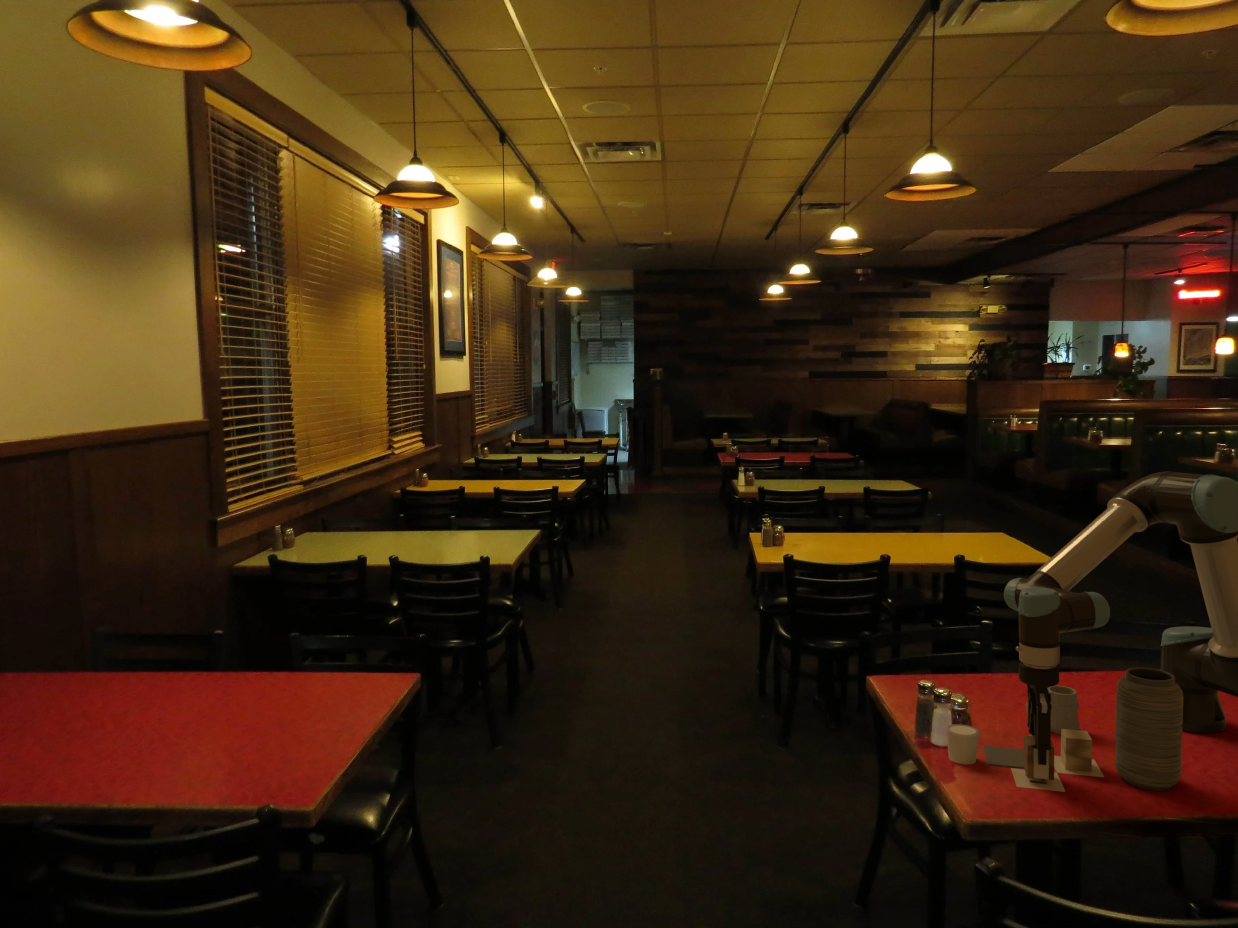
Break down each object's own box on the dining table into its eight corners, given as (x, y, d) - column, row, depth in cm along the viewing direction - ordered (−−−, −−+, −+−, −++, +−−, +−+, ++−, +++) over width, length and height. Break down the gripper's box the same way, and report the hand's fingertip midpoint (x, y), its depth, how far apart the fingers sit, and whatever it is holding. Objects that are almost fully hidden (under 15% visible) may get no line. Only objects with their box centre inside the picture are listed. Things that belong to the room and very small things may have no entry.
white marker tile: (1056, 773, 181) (1056, 772, 181) (1065, 792, 173) (1065, 791, 173) (1010, 769, 184) (1010, 767, 184) (1016, 787, 175) (1016, 786, 175)
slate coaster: (1030, 752, 192) (1030, 749, 192) (1038, 770, 183) (1038, 768, 183) (982, 747, 195) (982, 745, 195) (987, 766, 186) (987, 763, 186)
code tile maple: (1094, 760, 187) (1094, 759, 187) (1104, 778, 179) (1104, 776, 179) (1049, 756, 190) (1049, 754, 190) (1056, 773, 181) (1056, 772, 181)
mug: (1084, 737, 200) (1085, 687, 199) (1030, 734, 202) (1031, 685, 201) (1073, 724, 207) (1074, 676, 206) (1021, 722, 209) (1022, 674, 208)
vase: (1191, 796, 170) (1195, 684, 168) (1128, 793, 172) (1130, 682, 170) (1165, 771, 181) (1168, 665, 179) (1105, 768, 183) (1108, 664, 181)
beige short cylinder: (976, 769, 184) (976, 737, 184) (942, 762, 188) (943, 731, 187) (981, 757, 190) (981, 727, 190) (949, 751, 194) (949, 721, 193)
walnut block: (1049, 769, 180) (1049, 737, 179) (1054, 780, 175) (1054, 747, 175) (1023, 767, 182) (1023, 735, 181) (1027, 777, 177) (1027, 745, 176)
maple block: (1086, 761, 186) (1086, 730, 185) (1091, 771, 181) (1092, 739, 180) (1060, 759, 187) (1061, 728, 187) (1065, 769, 183) (1065, 737, 182)
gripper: (1012, 649, 186) (1013, 752, 188) (1025, 676, 169) (1025, 789, 171) (1050, 650, 184) (1050, 755, 186) (1067, 678, 167) (1067, 793, 169)
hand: (1038, 771), depth 178 cm, fingers closed on walnut block, 5 cm apart
